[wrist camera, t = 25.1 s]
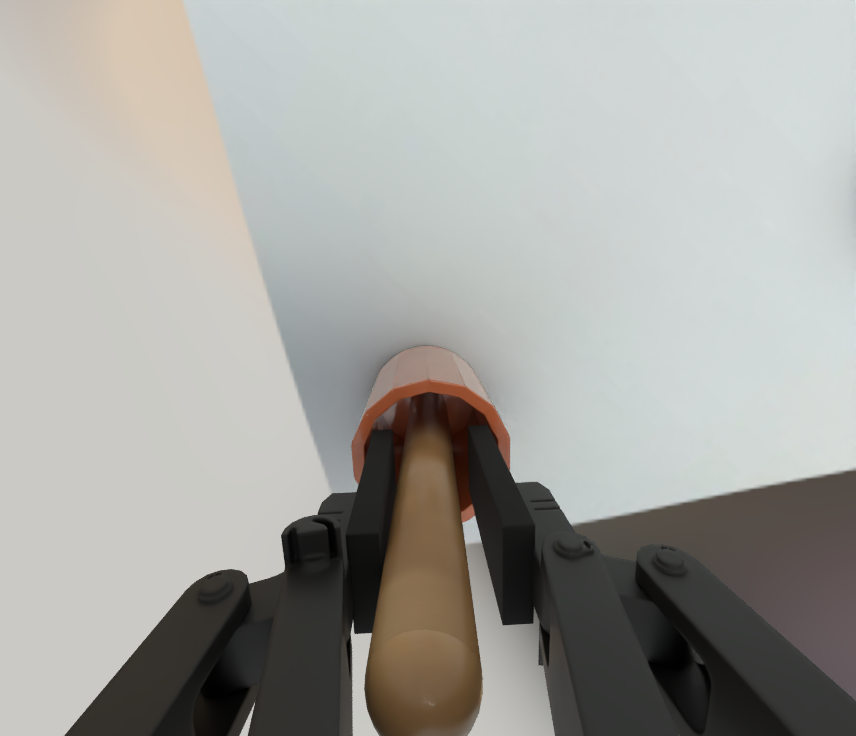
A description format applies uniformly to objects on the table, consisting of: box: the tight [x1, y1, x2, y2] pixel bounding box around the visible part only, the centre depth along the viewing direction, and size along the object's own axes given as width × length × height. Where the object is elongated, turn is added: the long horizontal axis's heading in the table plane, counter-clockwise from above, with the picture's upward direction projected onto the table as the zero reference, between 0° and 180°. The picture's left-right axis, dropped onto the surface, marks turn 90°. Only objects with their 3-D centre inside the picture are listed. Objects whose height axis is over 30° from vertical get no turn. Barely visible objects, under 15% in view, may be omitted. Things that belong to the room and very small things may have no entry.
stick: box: [364, 392, 483, 736], centre depth 15 cm, size 2×2×18 cm
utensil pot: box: [351, 346, 510, 522], centre depth 20 cm, size 6×6×8 cm
